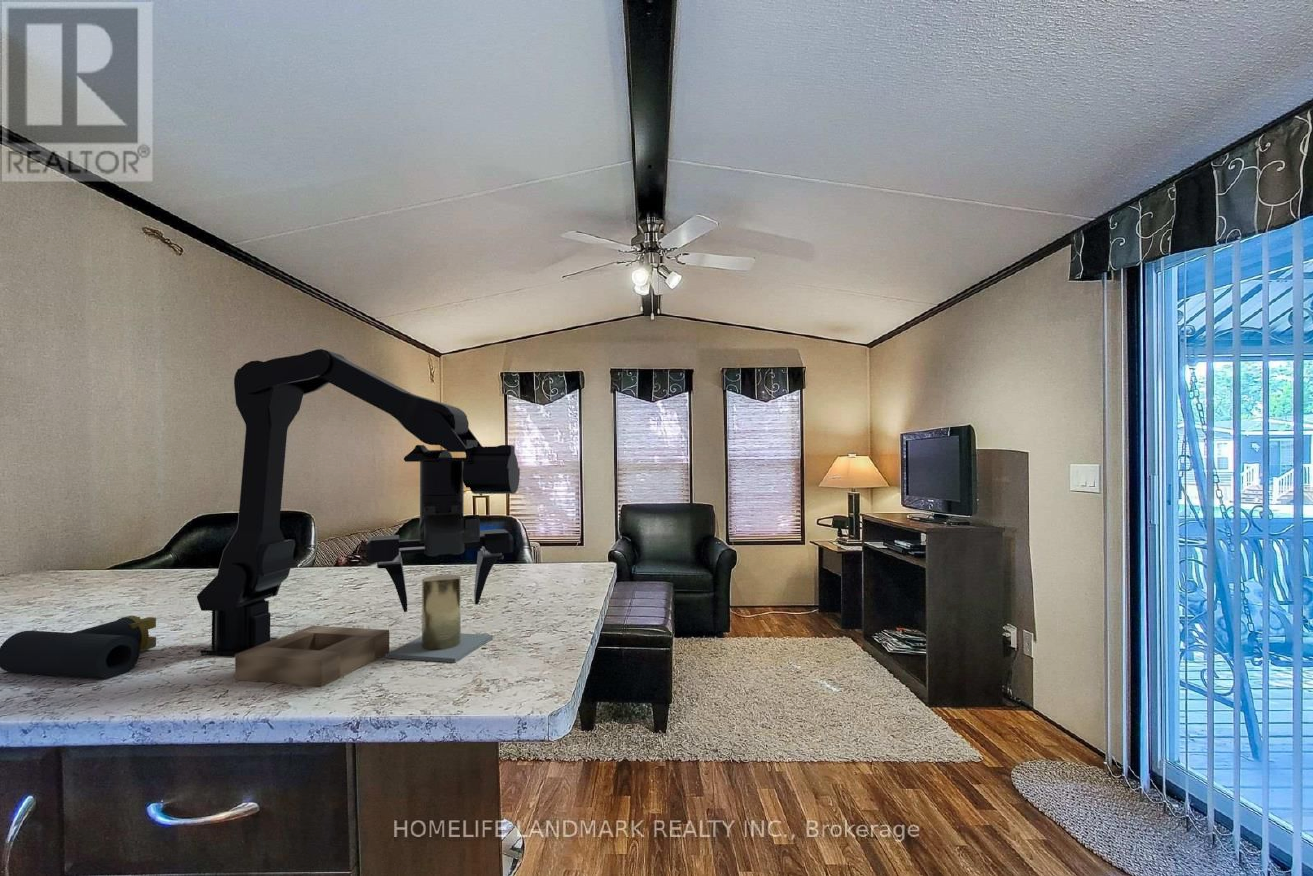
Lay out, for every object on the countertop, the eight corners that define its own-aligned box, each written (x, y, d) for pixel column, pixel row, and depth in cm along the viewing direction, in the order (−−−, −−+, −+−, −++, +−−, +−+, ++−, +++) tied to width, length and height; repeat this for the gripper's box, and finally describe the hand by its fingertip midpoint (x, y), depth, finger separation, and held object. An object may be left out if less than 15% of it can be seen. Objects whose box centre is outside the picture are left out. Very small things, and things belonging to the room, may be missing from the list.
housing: (235, 679, 70) (235, 654, 70) (313, 647, 82) (313, 625, 82) (321, 686, 68) (321, 660, 68) (389, 652, 80) (389, 630, 80)
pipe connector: (100, 610, 84) (189, 614, 81) (100, 648, 84) (189, 653, 81) (-4, 636, 72) (96, 642, 70) (-4, 680, 72) (96, 687, 70)
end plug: (414, 649, 79) (414, 581, 80) (435, 637, 84) (435, 574, 84) (447, 651, 78) (447, 583, 78) (467, 639, 83) (467, 575, 83)
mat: (386, 657, 77) (386, 654, 77) (430, 635, 87) (430, 631, 87) (455, 662, 75) (455, 658, 75) (492, 638, 85) (492, 635, 85)
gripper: (363, 500, 71) (362, 632, 70) (520, 495, 78) (520, 614, 78) (368, 495, 81) (367, 610, 81) (506, 491, 88) (506, 596, 88)
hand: (441, 607), depth 81 cm, fingers open, 9 cm apart
